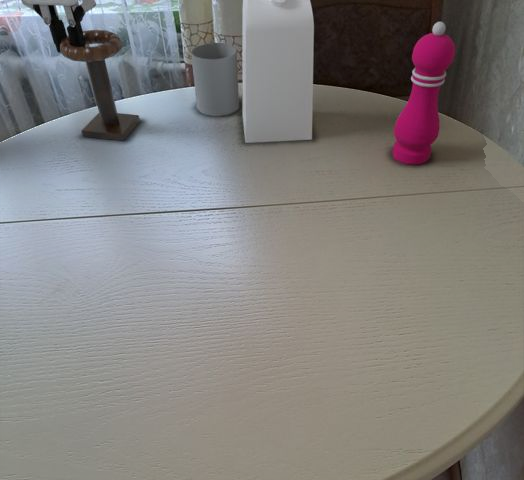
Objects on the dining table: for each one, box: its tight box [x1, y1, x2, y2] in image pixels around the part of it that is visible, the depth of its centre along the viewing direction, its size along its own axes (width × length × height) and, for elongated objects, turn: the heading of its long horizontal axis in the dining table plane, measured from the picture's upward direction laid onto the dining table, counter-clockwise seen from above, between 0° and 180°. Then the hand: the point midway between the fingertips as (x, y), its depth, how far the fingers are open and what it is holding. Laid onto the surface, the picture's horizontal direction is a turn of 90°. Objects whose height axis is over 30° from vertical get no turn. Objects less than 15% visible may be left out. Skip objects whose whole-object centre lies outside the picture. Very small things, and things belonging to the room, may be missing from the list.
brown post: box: [81, 59, 141, 142], centre depth 89 cm, size 8×8×13 cm
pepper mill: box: [391, 21, 456, 166], centre depth 78 cm, size 7×7×20 cm
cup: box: [190, 42, 240, 117], centre depth 96 cm, size 8×8×10 cm
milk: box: [241, 0, 315, 144], centre depth 84 cm, size 12×12×26 cm
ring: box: [60, 29, 123, 63], centre depth 83 cm, size 10×10×2 cm
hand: (71, 49), depth 85 cm, fingers closed on ring, 2 cm apart
